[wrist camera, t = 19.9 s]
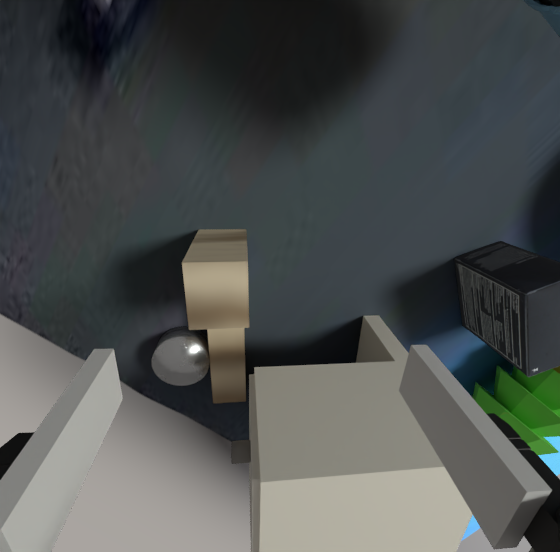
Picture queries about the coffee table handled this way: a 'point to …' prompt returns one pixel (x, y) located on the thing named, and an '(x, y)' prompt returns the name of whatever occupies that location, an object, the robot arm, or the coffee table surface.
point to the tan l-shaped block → (220, 305)
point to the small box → (512, 304)
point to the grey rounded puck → (181, 356)
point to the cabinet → (345, 459)
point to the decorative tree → (525, 405)
